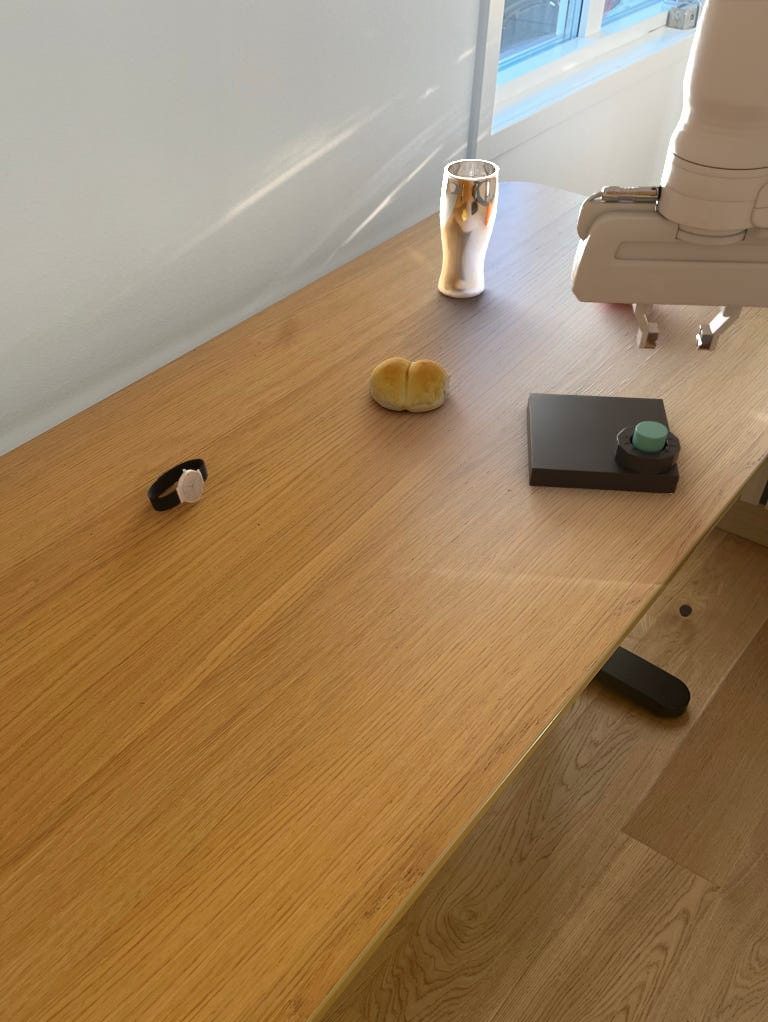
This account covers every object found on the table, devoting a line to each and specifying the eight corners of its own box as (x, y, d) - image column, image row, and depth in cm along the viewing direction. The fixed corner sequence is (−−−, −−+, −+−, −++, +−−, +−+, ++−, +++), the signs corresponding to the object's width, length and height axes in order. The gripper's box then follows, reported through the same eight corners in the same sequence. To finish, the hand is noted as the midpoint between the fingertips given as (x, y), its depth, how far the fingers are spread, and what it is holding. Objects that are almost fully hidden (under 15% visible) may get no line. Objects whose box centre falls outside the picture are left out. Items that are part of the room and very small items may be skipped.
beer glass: (431, 298, 124) (439, 178, 113) (438, 274, 128) (446, 157, 118) (484, 301, 122) (498, 181, 112) (489, 277, 127) (503, 159, 116)
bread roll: (377, 372, 111) (378, 341, 108) (452, 382, 109) (455, 350, 106) (360, 410, 106) (360, 378, 103) (439, 420, 104) (441, 388, 101)
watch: (174, 523, 93) (170, 493, 91) (138, 508, 95) (132, 479, 92) (220, 482, 98) (217, 453, 95) (184, 469, 99) (179, 440, 97)
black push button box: (657, 416, 103) (667, 383, 100) (674, 494, 93) (684, 460, 90) (526, 410, 104) (531, 377, 102) (528, 486, 95) (534, 453, 92)
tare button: (661, 436, 94) (666, 421, 92) (665, 454, 92) (669, 439, 90) (630, 435, 94) (634, 420, 93) (633, 452, 92) (637, 437, 91)
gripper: (586, 201, 75) (558, 360, 85) (863, 205, 72) (800, 369, 82) (581, 171, 79) (555, 325, 89) (842, 174, 76) (785, 333, 86)
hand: (674, 346), depth 85 cm, fingers open, 4 cm apart
